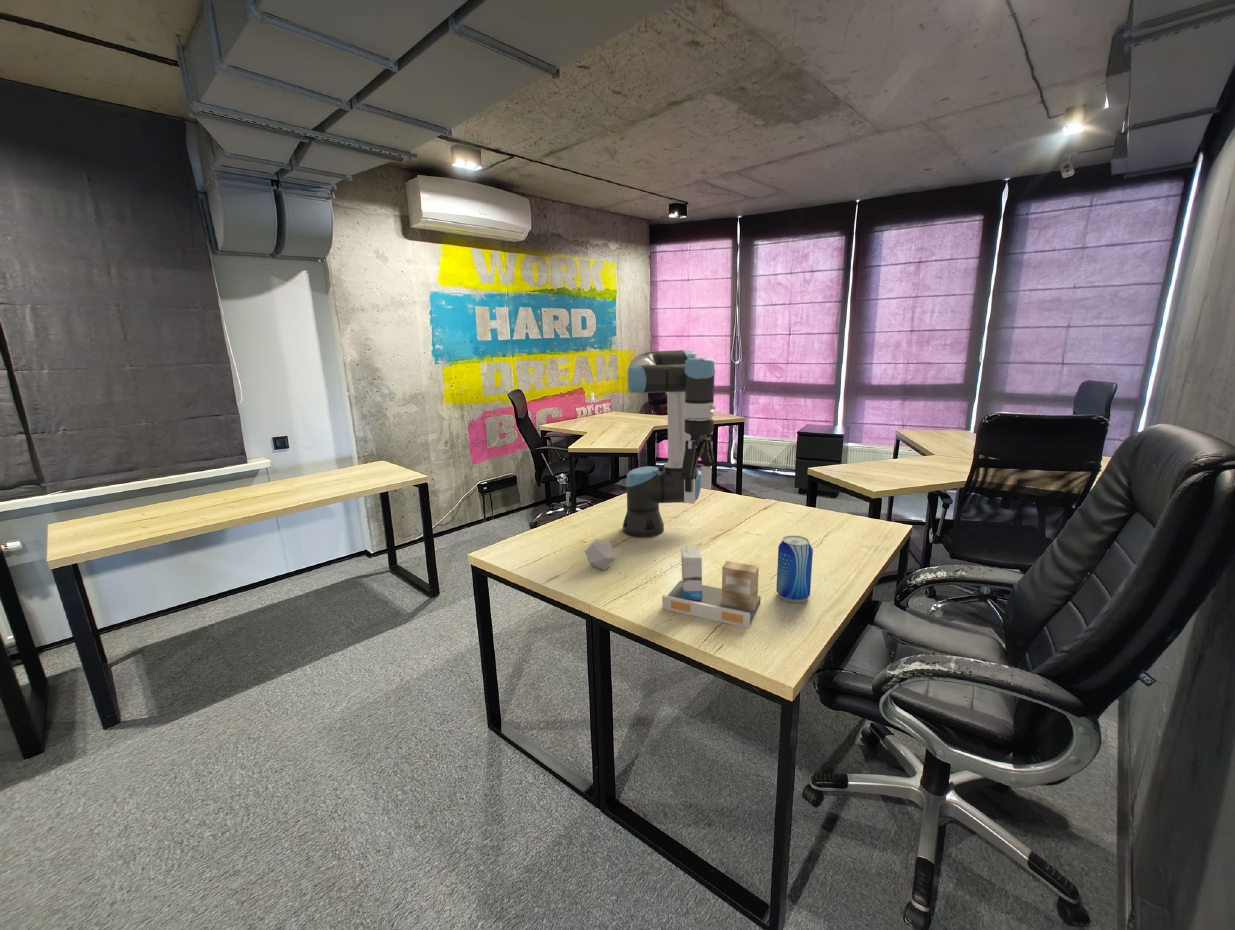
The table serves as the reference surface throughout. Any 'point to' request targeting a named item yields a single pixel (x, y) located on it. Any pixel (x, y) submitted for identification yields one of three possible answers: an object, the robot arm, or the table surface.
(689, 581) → the ink box
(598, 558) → the die
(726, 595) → the brown cardboard box
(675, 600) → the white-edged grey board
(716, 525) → the table surface
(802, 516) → the table surface
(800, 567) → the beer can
